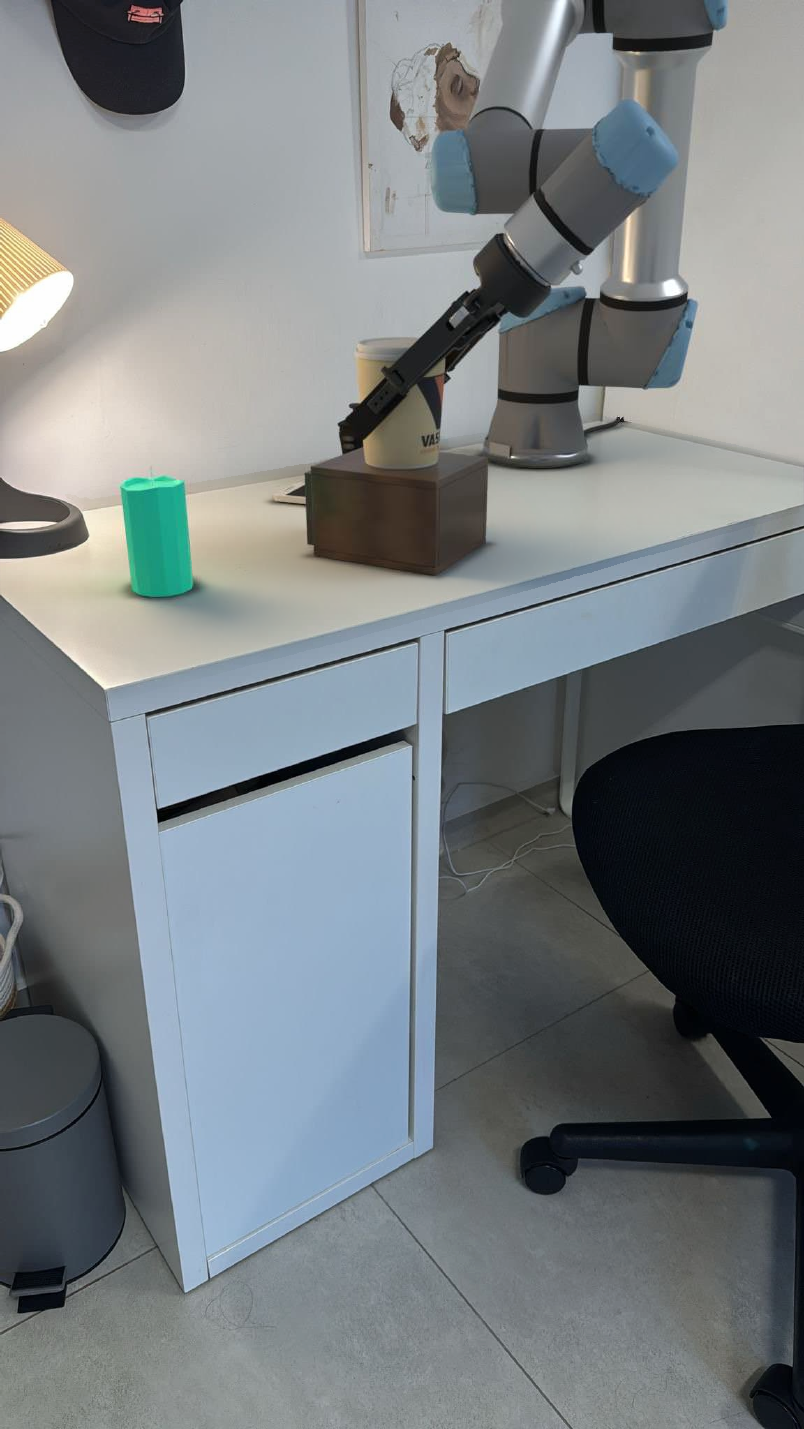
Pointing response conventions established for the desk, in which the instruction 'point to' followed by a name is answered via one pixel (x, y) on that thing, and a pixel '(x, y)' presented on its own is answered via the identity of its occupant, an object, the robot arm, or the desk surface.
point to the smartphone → (292, 494)
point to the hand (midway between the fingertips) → (371, 421)
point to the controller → (349, 435)
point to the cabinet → (400, 511)
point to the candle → (157, 535)
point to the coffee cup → (401, 409)
